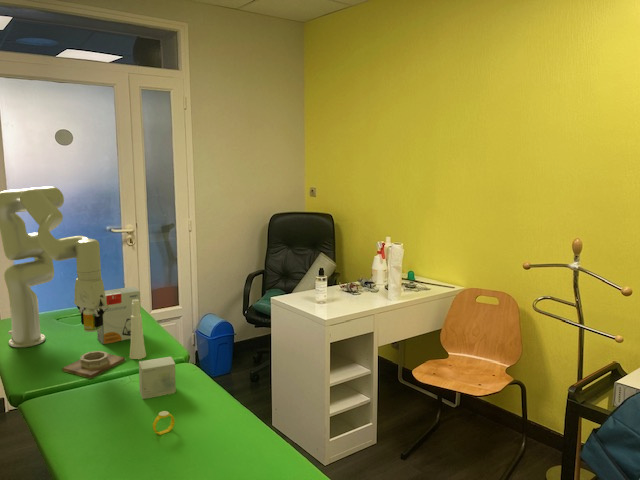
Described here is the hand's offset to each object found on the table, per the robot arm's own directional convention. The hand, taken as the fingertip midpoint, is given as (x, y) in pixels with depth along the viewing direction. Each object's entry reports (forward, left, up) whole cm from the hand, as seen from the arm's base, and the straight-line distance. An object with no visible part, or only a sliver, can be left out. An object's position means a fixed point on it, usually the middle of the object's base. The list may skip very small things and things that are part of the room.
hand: (92, 324), depth 185 cm
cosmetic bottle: (+8, +13, -16) cm, 22 cm away
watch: (+50, -24, -16) cm, 58 cm away
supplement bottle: (0, 0, -2) cm, 2 cm away
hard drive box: (-11, +24, -16) cm, 31 cm away
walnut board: (0, 0, -16) cm, 16 cm away
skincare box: (+33, -6, -16) cm, 37 cm away
